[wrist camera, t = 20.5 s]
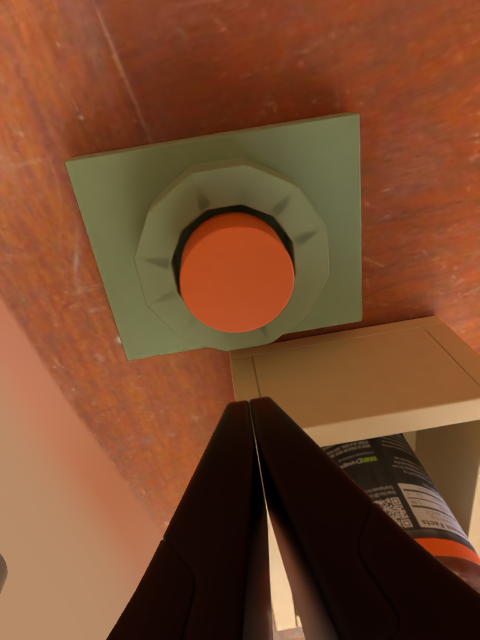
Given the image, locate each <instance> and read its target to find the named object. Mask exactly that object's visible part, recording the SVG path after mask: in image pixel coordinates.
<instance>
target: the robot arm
mask: <svg viewBox="0 0 480 640" xmlns="http://www.w3.org/2000/svg"><path fill="white" fill-rule="evenodd" d="M249 405H250V406H249ZM250 411H251V412H250ZM251 417H252V418H251ZM252 423H253V424H252ZM253 429H254V430H253ZM254 434H255V436H254ZM255 440H256V442H255ZM256 446H257V448H256ZM257 452H258V454H257ZM258 458H259V460H258ZM259 464H260V466H259ZM260 470H261V471H260ZM261 476H262V477H261ZM262 482H263V483H262ZM263 488H264V489H263ZM264 494H265V495H264ZM265 499H266V501H265ZM266 504H267V509H268V514H269V517H270V521H271V525H272V528H273V531H274V535H275V538H276V541H277V545H278V548H279V551H280V555H281V558H282V561H283V565H284V568H285V572H286V575H287V578H288V582H289V585H290V588H291V592H292V595H293V598H294V602H295V605H296V608H297V612H298V615H299V618H300V622H301V625H302V628H303V632H304V635H305V638H306V640H480V593H479V592H478V591H476V590H475V589H474V588H473V587H471V586H470V585H469V584H468V583H466V582H465V581H464V580H463V579H461V578H460V577H459V576H458V575H456V574H455V573H454V572H453V571H451V570H450V569H449V568H448V567H447V566H445V565H444V564H443V563H442V562H441V561H439V560H438V559H437V558H436V557H435V556H433V555H432V554H431V553H430V552H429V551H427V550H426V549H425V548H424V547H423V546H421V545H420V544H419V543H418V542H417V541H416V540H415V539H414V538H412V537H411V536H410V535H409V534H408V533H407V532H406V531H405V530H404V529H403V528H402V527H401V526H400V525H399V524H398V523H396V522H395V521H394V520H393V519H392V518H391V517H390V516H389V515H388V514H387V513H386V512H385V511H384V510H383V509H382V508H381V507H380V506H379V505H378V504H377V503H374V501H373V499H372V498H371V497H370V496H369V495H368V494H367V493H366V492H365V491H364V490H363V489H362V488H361V487H360V486H359V485H358V484H357V483H356V482H355V481H354V480H353V479H352V478H351V477H350V476H349V475H348V474H347V473H346V472H345V471H344V470H343V469H342V468H341V467H340V466H339V465H338V464H337V463H336V462H335V461H334V460H333V459H332V458H331V457H330V456H329V455H328V454H327V453H326V452H325V451H324V450H323V449H322V448H321V447H320V446H319V445H318V444H317V443H316V442H315V441H314V440H313V439H312V438H311V437H310V436H309V435H308V434H307V433H306V432H305V431H304V430H303V429H302V428H301V427H300V426H299V425H298V424H297V423H296V422H295V421H294V420H293V419H292V418H291V417H290V416H288V415H287V414H286V413H285V412H284V411H283V410H282V409H281V408H280V407H279V406H278V405H277V404H276V403H275V402H274V401H273V400H272V399H271V398H270V397H268V396H265V397H259V398H254V399H251V400H250V401H249V402H248V401H247V400H242V401H236V402H231V403H229V404H227V406H226V408H225V410H224V412H223V414H222V416H221V418H220V421H219V423H218V425H217V427H216V429H215V431H214V433H213V435H212V437H211V439H210V441H209V443H208V445H207V447H206V449H205V451H204V453H203V456H202V458H201V460H200V462H199V464H198V466H197V468H196V470H195V472H194V474H193V476H192V478H191V480H190V482H189V484H188V486H187V488H186V491H185V493H184V495H183V497H182V499H181V501H180V503H179V505H178V507H177V509H176V511H175V513H174V515H173V517H172V519H171V521H170V523H169V526H168V528H167V530H166V532H165V534H164V536H163V539H164V540H161V541H160V544H159V546H158V548H157V550H156V552H155V554H154V556H153V558H152V560H151V562H150V564H149V566H148V568H147V570H146V572H145V574H144V576H143V577H142V579H141V581H140V583H139V585H138V587H137V589H136V591H135V593H134V594H133V596H132V598H131V599H130V601H129V603H128V604H127V606H126V608H125V610H124V611H123V613H122V614H121V616H120V618H119V619H118V621H117V623H116V625H115V626H114V628H113V629H112V631H111V633H110V634H109V636H108V638H107V639H106V640H273V631H272V608H271V585H270V562H269V540H268V520H267V509H266Z"/></svg>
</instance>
